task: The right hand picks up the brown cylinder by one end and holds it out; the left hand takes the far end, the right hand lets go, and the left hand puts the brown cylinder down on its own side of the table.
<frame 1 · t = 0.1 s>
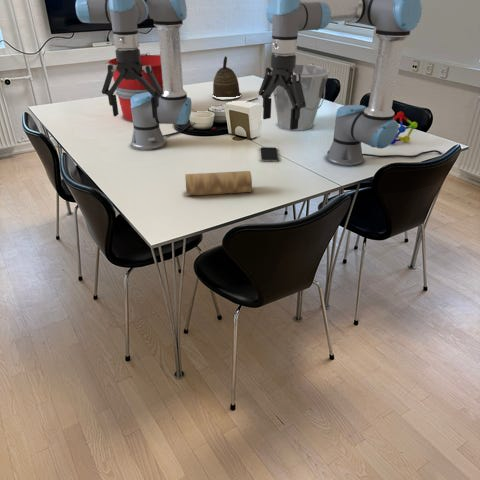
left hand: (135, 116, 150), 28 cm above the table, tool pointing down, fingers open, 13 cm apart
right hand: (279, 123, 144), 28 cm above the table, tool pointing down, fingers open, 13 cm apart
bucket: (295, 125, 233), on the table
bucket 2: (146, 115, 247), on the table
smartphone: (269, 155, 197), on the table
brown cylinder: (218, 192, 164), on the table
educational toy: (395, 143, 211), on the table
bell: (226, 97, 281), on the table
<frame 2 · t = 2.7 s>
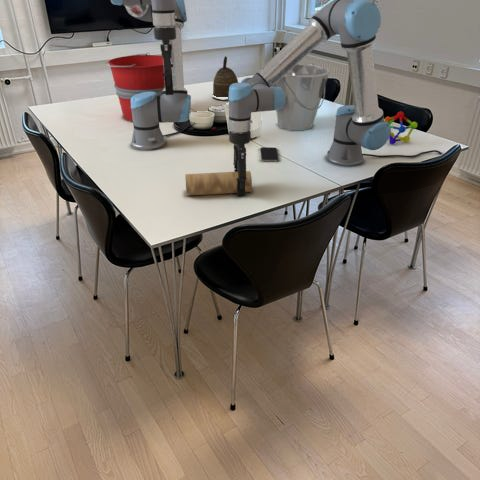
left hand: (169, 90, 163), 32 cm above the table, tool pointing down, fingers open, 13 cm apart
right hand: (239, 190, 165), 0 cm above the table, tool pointing down, fingers closed on brown cylinder, 8 cm apart
brown cylinder: (218, 192, 164), on the table, touching right hand
everything else where it was.
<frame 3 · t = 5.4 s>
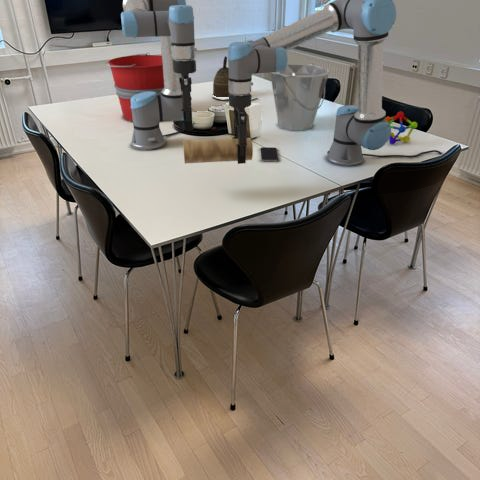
left hand: (188, 124, 153), 25 cm above the table, tool pointing down, fingers open, 13 cm apart
right hand: (239, 158, 158), 13 cm above the table, tool pointing down, fingers closed on brown cylinder, 8 cm apart
brown cylinder: (218, 161, 157), point 12 cm above the table, touching right hand
everything else where it was.
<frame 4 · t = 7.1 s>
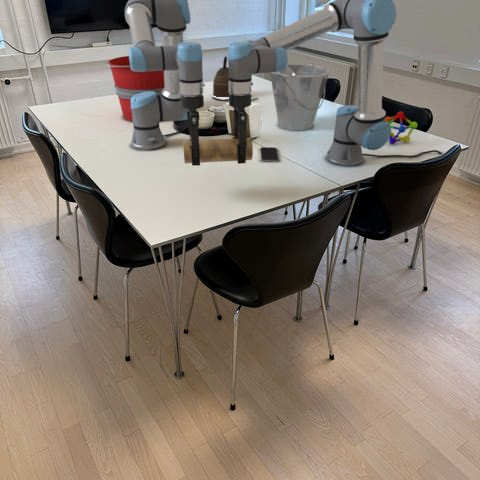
left hand: (195, 160, 156), 13 cm above the table, tool pointing down, fingers closed on brown cylinder, 8 cm apart
right hand: (239, 158, 158), 13 cm above the table, tool pointing down, fingers closed on brown cylinder, 8 cm apart
brown cylinder: (217, 160, 157), point 13 cm above the table, touching left hand, right hand
everything else where it was.
when the right hand's fingers open (13 cm above the table, at t = 8.0 s): brown cylinder stays where it is, held by the left hand.
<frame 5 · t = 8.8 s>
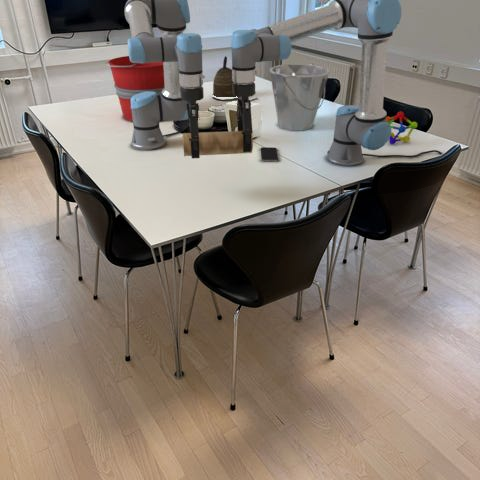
left hand: (194, 153, 155), 16 cm above the table, tool pointing down, fingers closed on brown cylinder, 8 cm apart
right hand: (244, 144, 156), 18 cm above the table, tool pointing down, fingers open, 13 cm apart
brown cylinder: (217, 153, 156), point 15 cm above the table, touching left hand
everything else where it was.
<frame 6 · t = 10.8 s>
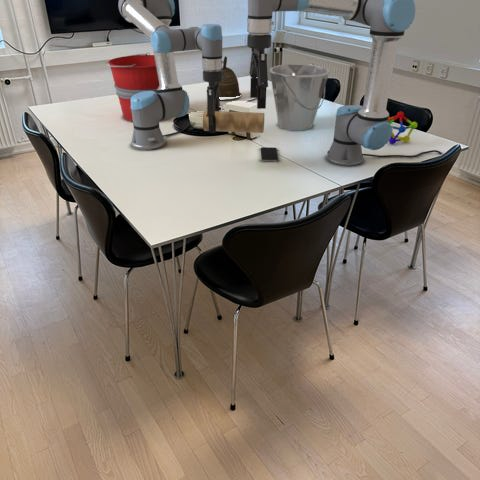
left hand: (214, 129, 178), 15 cm above the table, tool pointing down, fingers closed on brown cylinder, 8 cm apart
right hand: (257, 102, 149), 32 cm above the table, tool pointing down, fingers open, 13 cm apart
brown cylinder: (234, 131, 178), point 15 cm above the table, touching left hand
everything else where it was.
when the left hand's fingers open (2 cm above the table, at t = 12.4 s): brown cylinder drops 2 cm, on the table.
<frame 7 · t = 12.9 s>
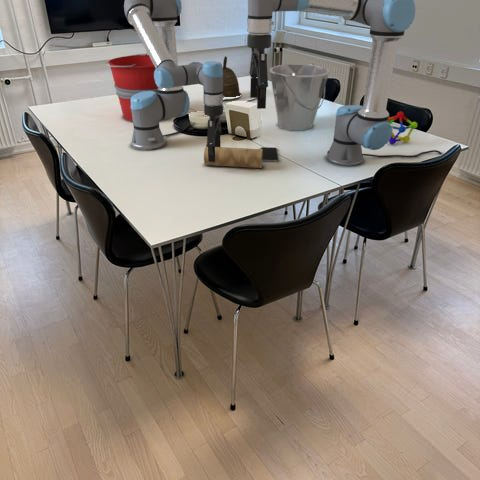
left hand: (214, 155, 185), 4 cm above the table, tool pointing down, fingers open, 13 cm apart
right hand: (257, 102, 149), 32 cm above the table, tool pointing down, fingers open, 13 cm apart
brown cylinder: (233, 165, 186), on the table
everything else where it was.
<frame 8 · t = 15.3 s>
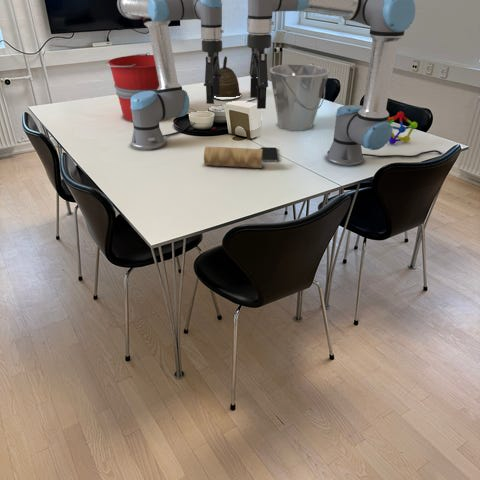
left hand: (213, 99, 172), 27 cm above the table, tool pointing down, fingers open, 13 cm apart
right hand: (257, 102, 149), 32 cm above the table, tool pointing down, fingers open, 13 cm apart
nothing on the table moved.
at the end: brown cylinder inside the target area (7.9 cm from its centre), on the table; the left hand is holding nothing; the right hand is holding nothing; brown cylinder at rest at the end (0.0 cm/s) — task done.
